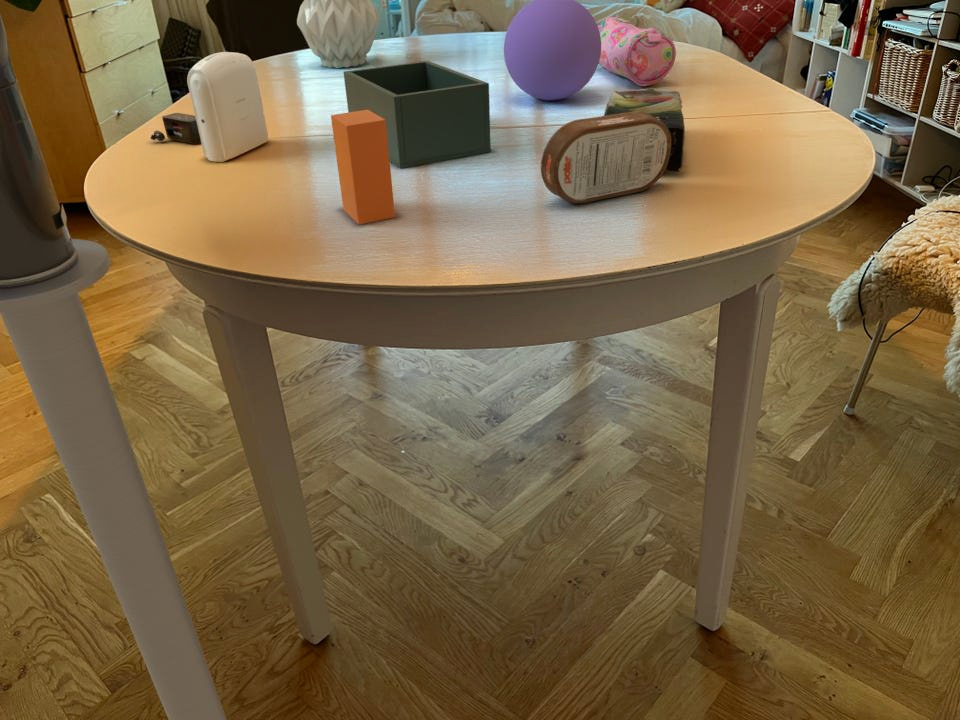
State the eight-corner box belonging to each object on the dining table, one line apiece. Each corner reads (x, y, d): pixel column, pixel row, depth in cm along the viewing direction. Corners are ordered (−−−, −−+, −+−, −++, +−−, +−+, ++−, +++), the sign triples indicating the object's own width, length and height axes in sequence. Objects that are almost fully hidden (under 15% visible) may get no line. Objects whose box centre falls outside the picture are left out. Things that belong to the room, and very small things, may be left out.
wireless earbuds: (178, 134, 110) (173, 111, 109) (210, 140, 107) (205, 117, 105) (151, 142, 107) (145, 119, 105) (183, 149, 104) (177, 125, 102)
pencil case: (583, 67, 142) (585, 14, 138) (630, 63, 144) (633, 11, 139) (622, 90, 124) (626, 31, 120) (675, 86, 126) (681, 27, 121)
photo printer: (226, 163, 97) (205, 61, 91) (199, 161, 99) (176, 60, 92) (274, 142, 105) (257, 47, 99) (248, 139, 107) (230, 46, 100)
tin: (654, 180, 86) (661, 104, 81) (672, 188, 83) (680, 110, 79) (538, 204, 81) (539, 123, 76) (553, 213, 78) (554, 131, 74)
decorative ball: (573, 85, 129) (575, -13, 122) (615, 103, 117) (622, -4, 109) (491, 94, 125) (488, -6, 117) (526, 115, 113) (526, 5, 105)
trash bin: (400, 168, 93) (393, 96, 88) (350, 134, 107) (343, 71, 103) (490, 151, 98) (489, 83, 93) (432, 121, 112) (428, 60, 107)
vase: (329, 76, 143) (314, -34, 133) (289, 65, 154) (273, -37, 144) (400, 63, 152) (391, -41, 142) (357, 54, 163) (346, -44, 153)
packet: (358, 224, 77) (346, 125, 72) (343, 210, 81) (330, 114, 76) (395, 217, 79) (385, 119, 74) (378, 203, 83) (368, 109, 77)
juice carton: (604, 128, 105) (607, 82, 101) (677, 130, 103) (682, 83, 100) (595, 176, 88) (598, 123, 85) (682, 179, 86) (689, 125, 83)
